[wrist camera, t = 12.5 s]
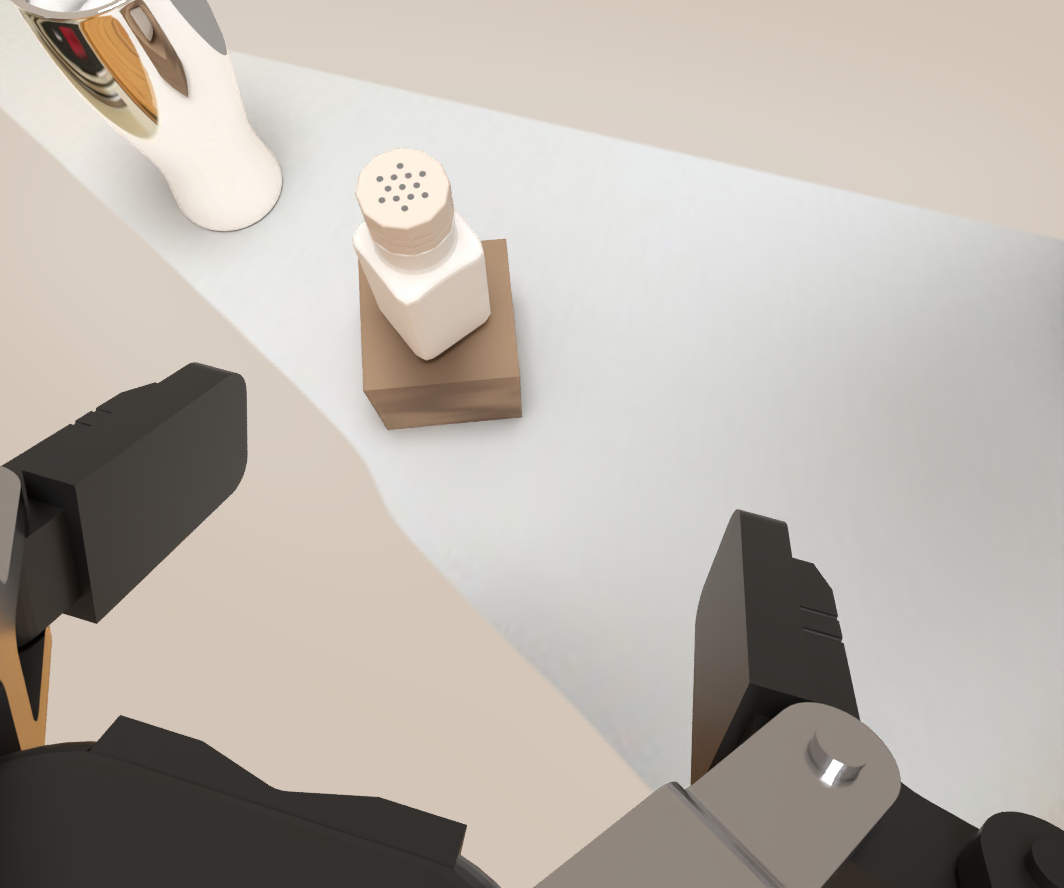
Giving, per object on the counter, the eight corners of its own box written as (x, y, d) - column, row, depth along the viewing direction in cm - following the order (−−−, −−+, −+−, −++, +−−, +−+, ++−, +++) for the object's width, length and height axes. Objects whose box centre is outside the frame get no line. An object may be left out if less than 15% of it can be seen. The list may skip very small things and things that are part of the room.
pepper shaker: (445, 259, 35) (415, 117, 26) (496, 320, 35) (485, 195, 25) (374, 306, 35) (320, 177, 26) (425, 370, 34) (387, 261, 25)
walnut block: (509, 297, 41) (505, 238, 36) (521, 417, 40) (519, 376, 34) (382, 308, 41) (358, 251, 36) (388, 430, 39) (363, 390, 34)
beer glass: (147, 217, 43) (-49, -8, 28) (203, 120, 44) (45, -139, 30) (258, 255, 42) (115, 44, 28) (310, 154, 44) (202, -93, 29)
